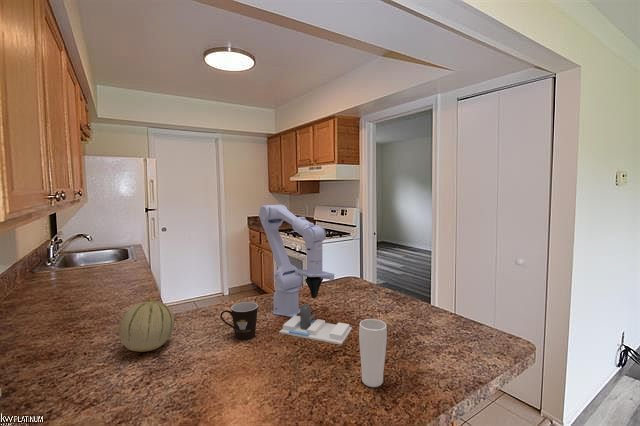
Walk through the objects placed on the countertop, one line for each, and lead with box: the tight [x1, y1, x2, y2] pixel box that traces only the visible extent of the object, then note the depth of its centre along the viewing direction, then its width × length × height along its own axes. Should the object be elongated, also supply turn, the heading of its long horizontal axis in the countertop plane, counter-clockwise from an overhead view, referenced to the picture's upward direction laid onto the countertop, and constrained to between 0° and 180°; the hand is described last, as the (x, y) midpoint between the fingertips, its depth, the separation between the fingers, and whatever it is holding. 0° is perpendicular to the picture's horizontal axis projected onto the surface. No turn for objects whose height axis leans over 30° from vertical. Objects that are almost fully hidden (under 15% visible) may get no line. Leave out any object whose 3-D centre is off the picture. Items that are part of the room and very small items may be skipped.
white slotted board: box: [279, 315, 353, 345], centre depth 107 cm, size 22×12×2 cm, turn 68°
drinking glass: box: [358, 318, 388, 388], centre depth 78 cm, size 7×7×15 cm
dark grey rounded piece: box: [299, 304, 316, 330], centre depth 111 cm, size 4×10×8 cm, turn 158°
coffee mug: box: [219, 301, 259, 342], centre depth 104 cm, size 12×9×10 cm
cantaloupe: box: [118, 297, 175, 353], centre depth 95 cm, size 15×15×15 cm
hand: (314, 297), depth 112 cm, fingers closed
